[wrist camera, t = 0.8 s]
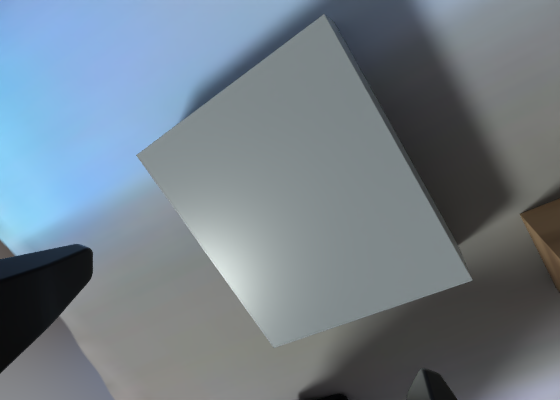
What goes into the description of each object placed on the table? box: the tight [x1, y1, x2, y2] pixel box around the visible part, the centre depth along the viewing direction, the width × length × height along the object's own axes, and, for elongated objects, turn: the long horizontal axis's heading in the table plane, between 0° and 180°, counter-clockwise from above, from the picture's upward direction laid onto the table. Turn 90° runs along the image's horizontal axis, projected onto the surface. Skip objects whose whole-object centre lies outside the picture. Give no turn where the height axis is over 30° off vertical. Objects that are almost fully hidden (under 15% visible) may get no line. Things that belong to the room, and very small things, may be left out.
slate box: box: [136, 14, 473, 348], centre depth 20 cm, size 14×12×4 cm
